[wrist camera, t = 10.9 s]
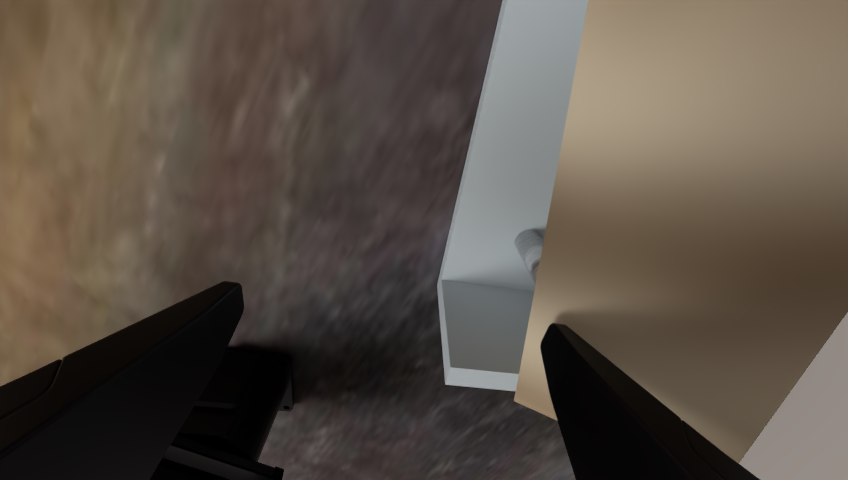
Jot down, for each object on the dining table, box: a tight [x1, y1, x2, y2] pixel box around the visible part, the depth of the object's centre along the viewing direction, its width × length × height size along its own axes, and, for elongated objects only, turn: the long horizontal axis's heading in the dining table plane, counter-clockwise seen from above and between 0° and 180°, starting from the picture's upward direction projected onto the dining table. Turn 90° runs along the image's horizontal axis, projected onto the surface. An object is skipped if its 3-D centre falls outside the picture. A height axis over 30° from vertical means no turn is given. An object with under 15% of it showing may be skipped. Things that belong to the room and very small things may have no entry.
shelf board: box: [514, 0, 848, 464], centre depth 9 cm, size 14×6×4 cm
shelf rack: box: [437, 0, 588, 391], centre depth 14 cm, size 19×12×8 cm, turn 171°
